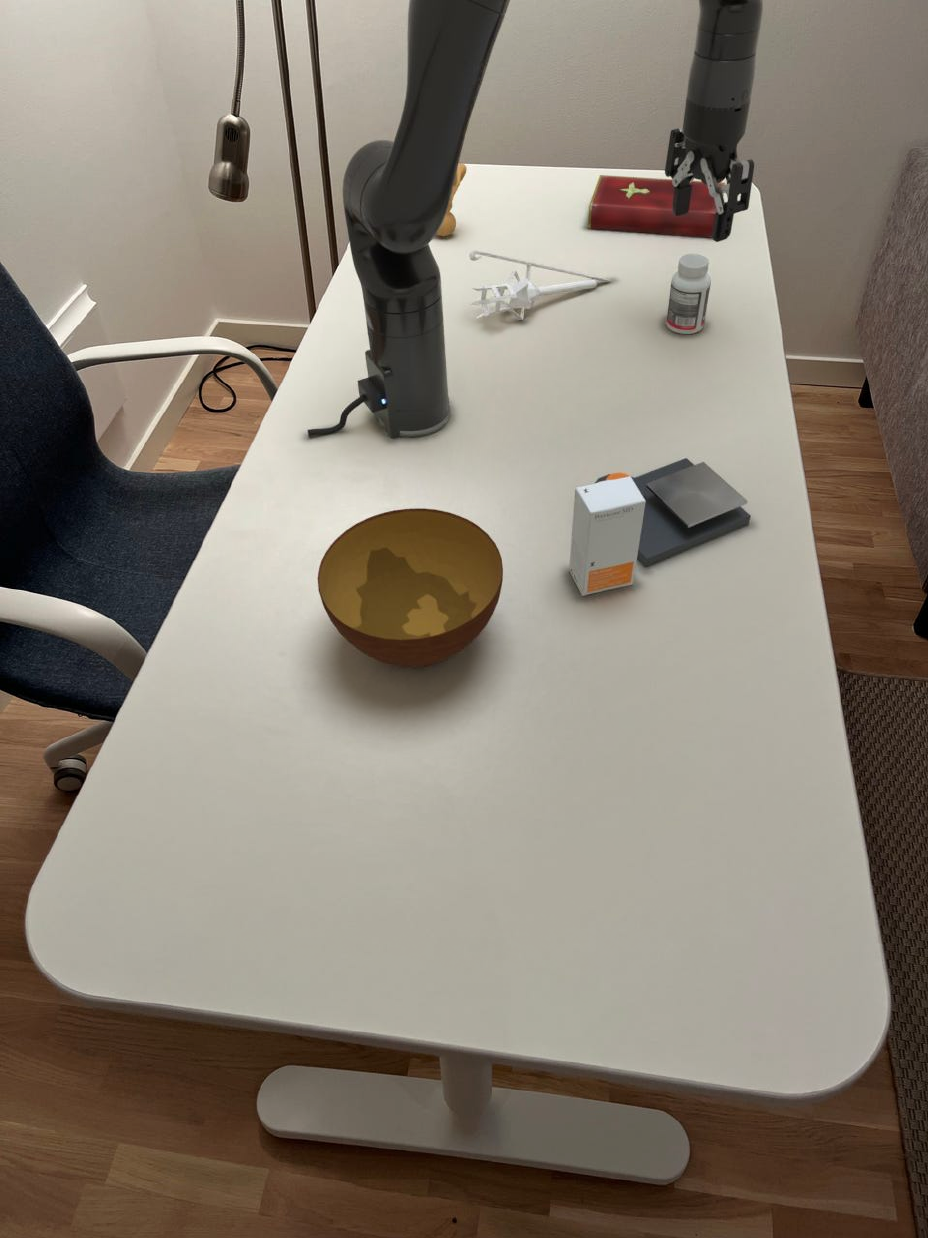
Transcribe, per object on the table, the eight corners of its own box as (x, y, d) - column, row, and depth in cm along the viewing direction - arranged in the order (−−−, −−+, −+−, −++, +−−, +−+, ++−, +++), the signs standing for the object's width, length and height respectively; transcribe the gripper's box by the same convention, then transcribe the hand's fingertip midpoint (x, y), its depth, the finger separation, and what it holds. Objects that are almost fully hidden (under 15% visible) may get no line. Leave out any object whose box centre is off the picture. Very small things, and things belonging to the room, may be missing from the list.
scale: (642, 569, 101) (644, 549, 99) (581, 503, 109) (582, 484, 107) (748, 524, 105) (753, 504, 103) (682, 464, 113) (686, 444, 111)
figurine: (433, 223, 158) (428, 150, 149) (468, 222, 158) (465, 148, 149) (432, 247, 153) (427, 172, 144) (469, 245, 153) (466, 170, 144)
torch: (593, 342, 147) (456, 318, 134) (599, 283, 146) (461, 253, 133) (619, 339, 142) (478, 313, 129) (625, 277, 140) (484, 245, 128)
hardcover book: (716, 238, 151) (721, 213, 147) (587, 229, 155) (589, 204, 151) (721, 206, 158) (725, 180, 155) (598, 197, 162) (600, 173, 159)
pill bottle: (683, 311, 136) (692, 246, 129) (711, 325, 133) (722, 260, 126) (657, 324, 134) (665, 260, 127) (686, 339, 131) (696, 274, 124)
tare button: (614, 504, 104) (615, 492, 103) (599, 489, 106) (600, 477, 105) (636, 495, 105) (638, 483, 104) (621, 481, 107) (623, 469, 106)
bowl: (377, 561, 104) (366, 492, 96) (527, 599, 99) (528, 530, 91) (302, 679, 93) (283, 611, 85) (467, 728, 88) (462, 661, 81)
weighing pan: (688, 527, 101) (688, 525, 101) (645, 486, 106) (645, 483, 105) (747, 503, 103) (748, 500, 103) (702, 464, 108) (703, 461, 108)
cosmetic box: (582, 598, 99) (588, 513, 90) (568, 571, 101) (573, 486, 93) (635, 585, 100) (647, 500, 91) (620, 559, 102) (630, 473, 93)
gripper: (657, 81, 114) (644, 213, 126) (731, 119, 106) (709, 256, 118) (707, 69, 116) (690, 199, 128) (783, 104, 108) (757, 240, 120)
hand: (699, 226), depth 123 cm, fingers open, 8 cm apart
